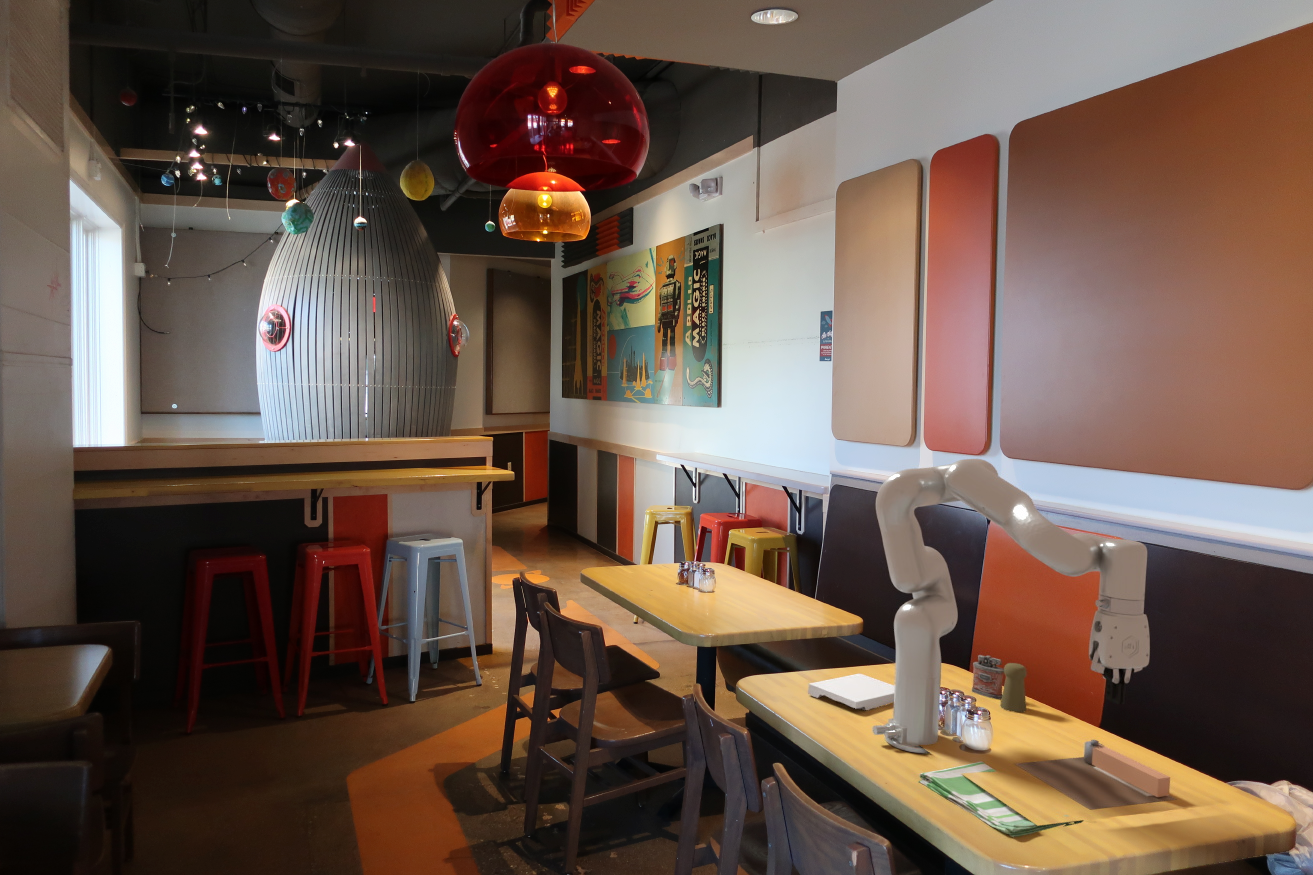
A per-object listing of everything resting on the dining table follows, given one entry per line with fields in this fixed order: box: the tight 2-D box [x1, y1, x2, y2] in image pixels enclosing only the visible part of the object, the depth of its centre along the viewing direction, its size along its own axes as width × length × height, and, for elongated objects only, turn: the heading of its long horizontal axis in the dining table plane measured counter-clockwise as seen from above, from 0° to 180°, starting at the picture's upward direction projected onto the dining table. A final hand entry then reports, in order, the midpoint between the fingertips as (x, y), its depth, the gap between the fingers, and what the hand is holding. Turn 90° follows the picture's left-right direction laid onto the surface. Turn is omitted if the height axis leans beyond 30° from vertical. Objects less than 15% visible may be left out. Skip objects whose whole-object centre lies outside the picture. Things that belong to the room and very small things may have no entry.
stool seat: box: [1014, 756, 1178, 811], centre depth 164 cm, size 20×20×2 cm
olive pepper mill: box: [999, 662, 1028, 713], centre depth 209 cm, size 6×6×11 cm
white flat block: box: [807, 673, 895, 711], centre depth 213 cm, size 15×3×20 cm
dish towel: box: [918, 761, 1085, 838], centre depth 157 cm, size 18×23×3 cm
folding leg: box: [1083, 739, 1171, 797], centre depth 166 cm, size 18×4×4 cm, turn 19°
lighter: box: [971, 654, 1005, 700], centre depth 219 cm, size 8×3×10 cm, turn 40°
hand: (1114, 701), depth 159 cm, fingers closed
